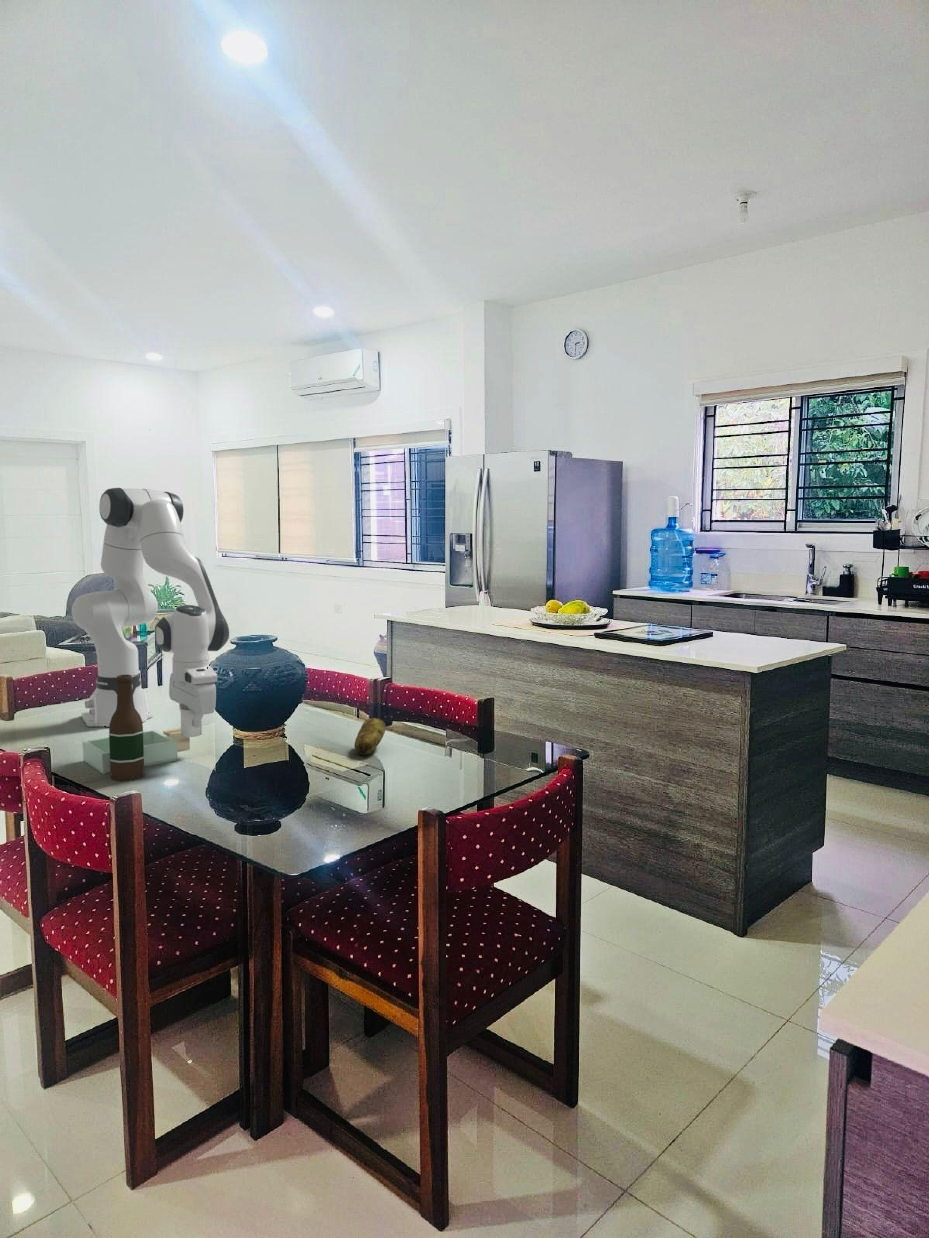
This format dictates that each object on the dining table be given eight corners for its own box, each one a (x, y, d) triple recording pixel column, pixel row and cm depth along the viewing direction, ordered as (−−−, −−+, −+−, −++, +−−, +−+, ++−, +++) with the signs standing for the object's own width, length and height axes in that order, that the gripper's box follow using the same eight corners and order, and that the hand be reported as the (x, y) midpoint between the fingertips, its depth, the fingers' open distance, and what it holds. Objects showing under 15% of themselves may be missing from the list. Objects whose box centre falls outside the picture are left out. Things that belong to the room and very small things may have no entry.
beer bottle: (118, 770, 194) (115, 672, 192) (151, 771, 194) (148, 672, 191) (103, 781, 187) (99, 678, 184) (137, 782, 186) (133, 679, 184)
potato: (341, 754, 211) (341, 724, 210) (370, 742, 222) (370, 714, 221) (367, 759, 207) (367, 728, 206) (395, 747, 218) (395, 718, 217)
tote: (83, 760, 202) (82, 741, 201) (155, 748, 214) (154, 729, 213) (102, 774, 192) (102, 753, 191) (177, 760, 204) (176, 740, 203)
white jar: (177, 733, 207) (176, 703, 206) (196, 730, 211) (196, 700, 210) (185, 738, 204) (185, 707, 203) (205, 735, 207) (205, 705, 206)
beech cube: (163, 748, 214) (162, 730, 213) (181, 745, 217) (181, 727, 216) (171, 753, 210) (170, 734, 209) (189, 749, 213) (189, 731, 213)
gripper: (162, 664, 211) (163, 716, 212) (195, 679, 195) (196, 735, 197) (186, 662, 215) (186, 713, 217) (220, 676, 200) (220, 731, 202)
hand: (191, 723), depth 207 cm, fingers closed on white jar, 5 cm apart
